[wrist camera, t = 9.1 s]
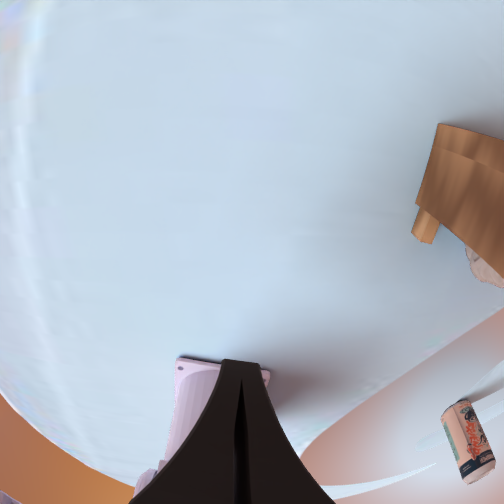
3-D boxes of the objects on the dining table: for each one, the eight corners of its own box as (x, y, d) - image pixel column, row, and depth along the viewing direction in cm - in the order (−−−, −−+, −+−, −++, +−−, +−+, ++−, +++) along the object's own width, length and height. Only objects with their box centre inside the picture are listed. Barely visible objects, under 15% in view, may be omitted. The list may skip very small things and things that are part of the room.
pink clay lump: (467, 163, 16) (537, 197, 10) (512, 209, 17) (569, 249, 11) (426, 236, 18) (481, 294, 12) (476, 270, 20) (523, 321, 13)
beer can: (473, 399, 29) (502, 464, 19) (449, 419, 31) (473, 483, 21) (459, 396, 28) (490, 468, 18) (433, 417, 30) (458, 488, 20)
